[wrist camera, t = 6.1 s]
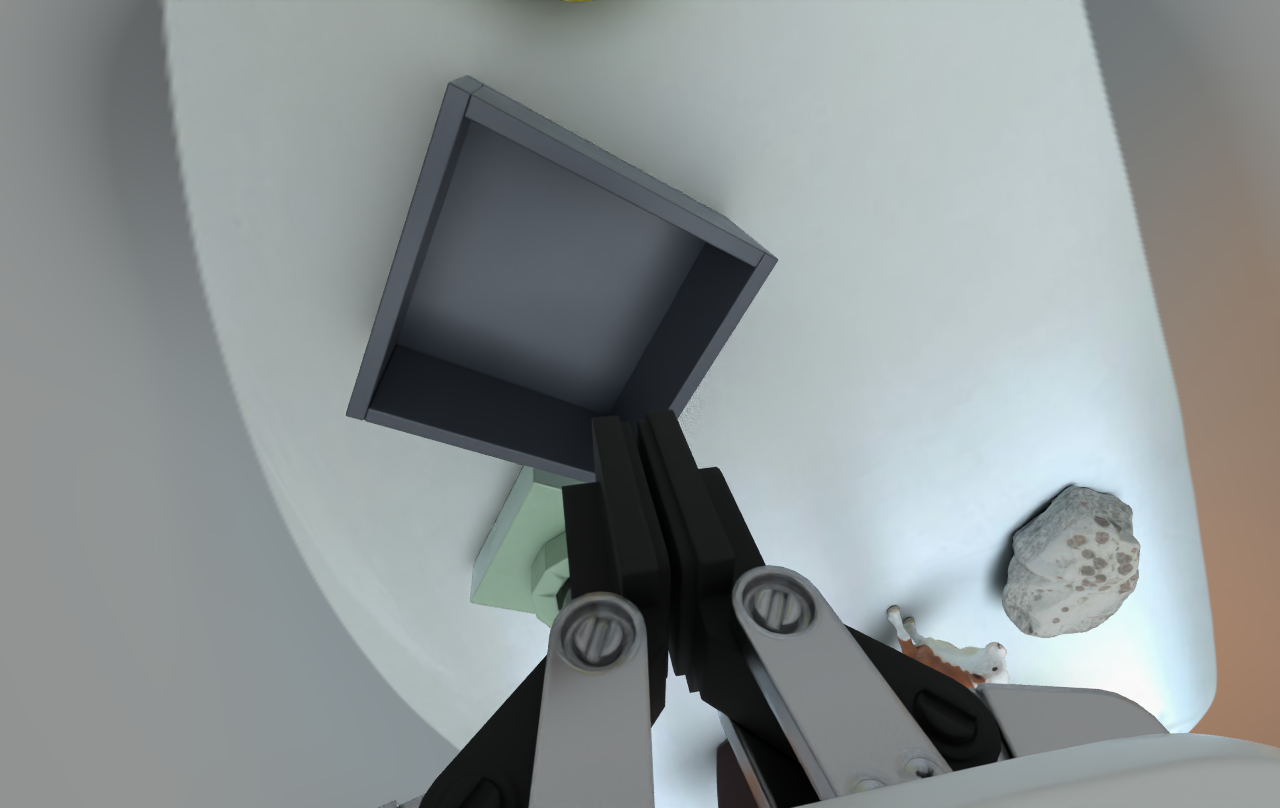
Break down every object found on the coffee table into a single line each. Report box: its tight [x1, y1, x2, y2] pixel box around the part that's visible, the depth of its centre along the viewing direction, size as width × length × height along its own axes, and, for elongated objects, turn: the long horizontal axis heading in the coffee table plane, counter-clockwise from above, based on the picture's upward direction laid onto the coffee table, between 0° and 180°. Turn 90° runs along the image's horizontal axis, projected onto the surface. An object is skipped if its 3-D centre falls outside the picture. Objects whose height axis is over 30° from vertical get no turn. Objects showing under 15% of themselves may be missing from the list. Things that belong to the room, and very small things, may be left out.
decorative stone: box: [1002, 486, 1140, 638], centre depth 39 cm, size 12×11×5 cm
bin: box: [346, 75, 778, 483], centre depth 21 cm, size 11×11×6 cm
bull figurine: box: [887, 606, 1010, 689], centre depth 40 cm, size 4×13×8 cm, turn 161°
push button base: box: [470, 465, 586, 628], centre depth 30 cm, size 11×9×4 cm
